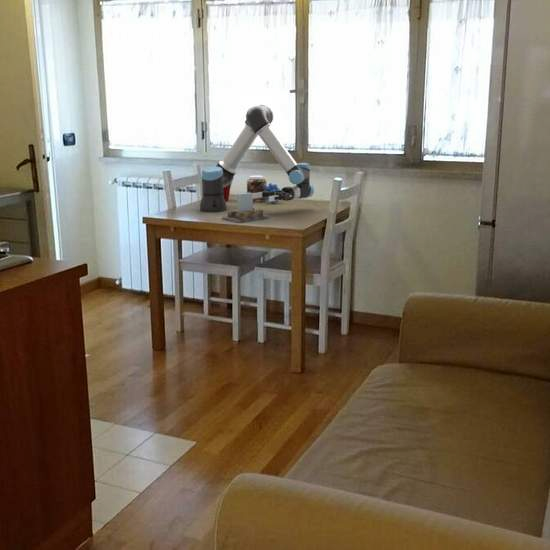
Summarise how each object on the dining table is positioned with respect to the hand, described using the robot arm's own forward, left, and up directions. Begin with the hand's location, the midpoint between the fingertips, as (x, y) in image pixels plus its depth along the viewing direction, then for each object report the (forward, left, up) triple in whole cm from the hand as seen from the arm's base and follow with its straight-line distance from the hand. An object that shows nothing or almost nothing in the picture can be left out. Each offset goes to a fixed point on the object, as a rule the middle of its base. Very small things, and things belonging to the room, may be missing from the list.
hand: (260, 197), depth 379 cm
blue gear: (-14, +39, -10) cm, 43 cm away
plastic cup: (-46, +35, -10) cm, 58 cm away
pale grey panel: (-4, -10, -9) cm, 14 cm away
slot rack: (-4, -10, -10) cm, 15 cm away
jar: (-27, +42, -10) cm, 51 cm away
